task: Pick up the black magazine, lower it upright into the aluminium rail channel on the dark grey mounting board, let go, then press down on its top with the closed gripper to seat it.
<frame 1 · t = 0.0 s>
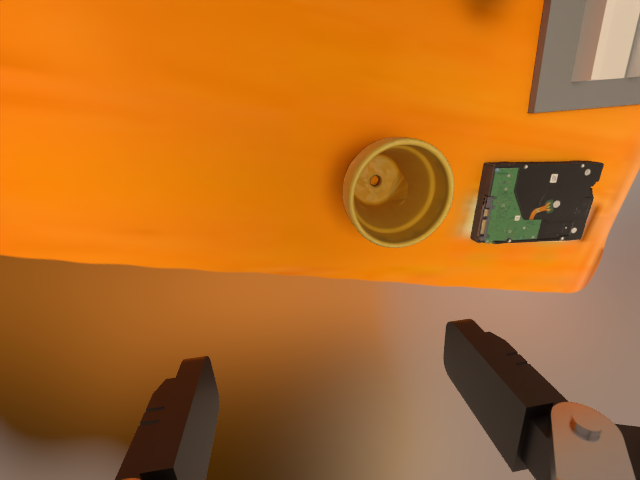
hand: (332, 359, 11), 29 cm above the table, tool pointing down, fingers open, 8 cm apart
plant pot: (372, 178, 39), on the table
disk drive: (524, 199, 43), on the table
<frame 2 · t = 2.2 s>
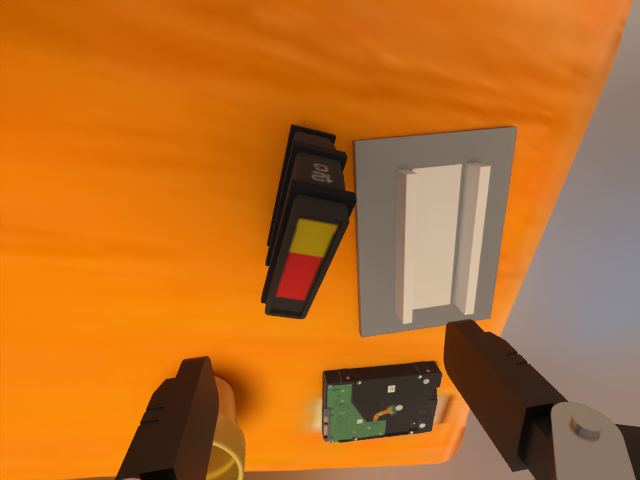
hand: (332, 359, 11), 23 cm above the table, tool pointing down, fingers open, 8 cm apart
plant pot: (207, 394, 39), on the table
disk drive: (375, 392, 43), on the table
rail board: (428, 238, 35), on the table
magazine: (294, 198, 32), on the table
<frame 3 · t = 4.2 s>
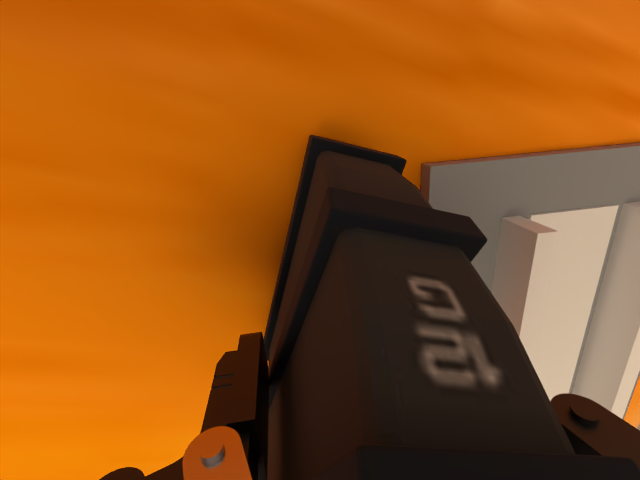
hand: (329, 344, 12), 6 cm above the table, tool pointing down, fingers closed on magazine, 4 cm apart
rail board: (533, 324, 21), on the table
magazine: (311, 265, 18), on the table, touching gripper
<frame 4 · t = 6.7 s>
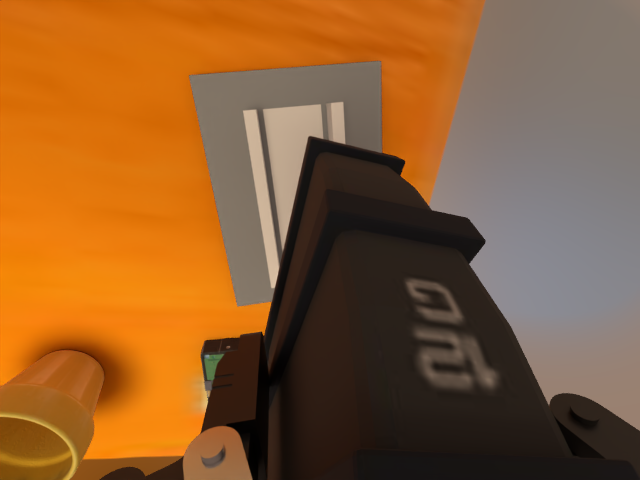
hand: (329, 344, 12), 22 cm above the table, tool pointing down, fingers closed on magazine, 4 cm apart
plant pot: (74, 371, 36), on the table
disk drive: (271, 365, 40), on the table
rail board: (300, 194, 32), on the table
magazine: (310, 266, 18), point 15 cm above the table, touching gripper
when the fingers open (9 cm above the table, at t = 9.6 s): magazine stays where it is, resting on rail board.
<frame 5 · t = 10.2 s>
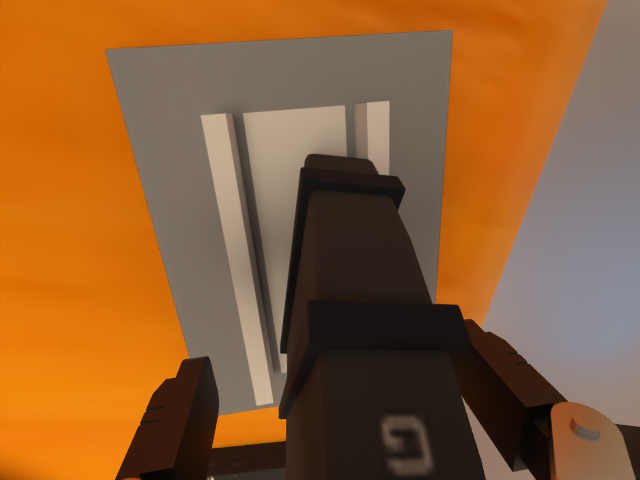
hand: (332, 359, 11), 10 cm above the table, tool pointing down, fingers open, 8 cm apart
disk drive: (261, 478, 27), on the table
rail board: (306, 250, 20), on the table
magazine: (319, 265, 18), point 2 cm above the table, touching rail board
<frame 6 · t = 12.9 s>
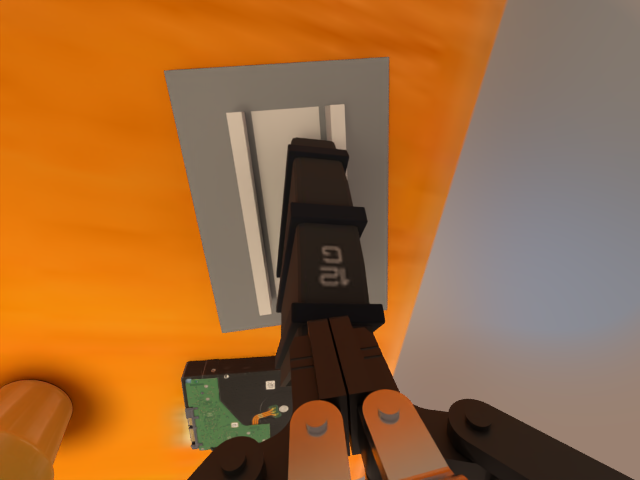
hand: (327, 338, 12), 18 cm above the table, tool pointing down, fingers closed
plant pot: (38, 403, 32), on the table
disk drive: (262, 389, 36), on the table
rail board: (294, 208, 28), on the table
magazine: (303, 216, 26), point 2 cm above the table, touching gripper, rail board
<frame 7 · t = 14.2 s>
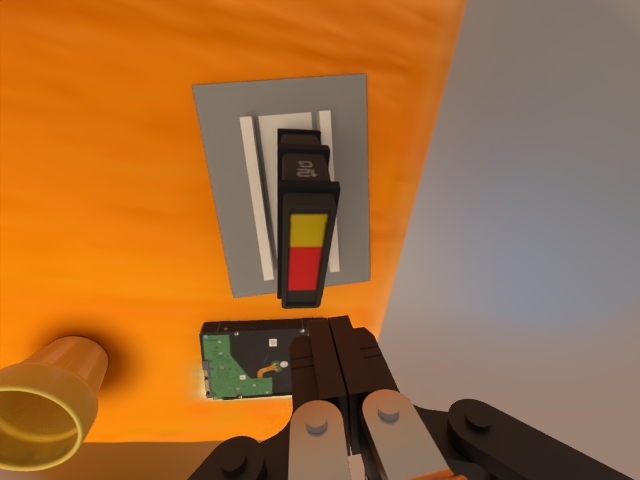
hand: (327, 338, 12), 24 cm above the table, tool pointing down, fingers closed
plant pot: (80, 357, 38), on the table
disk drive: (266, 350, 42), on the table
rail board: (292, 194, 35), on the table
magazine: (295, 196, 34), point 1 cm above the table, touching rail board
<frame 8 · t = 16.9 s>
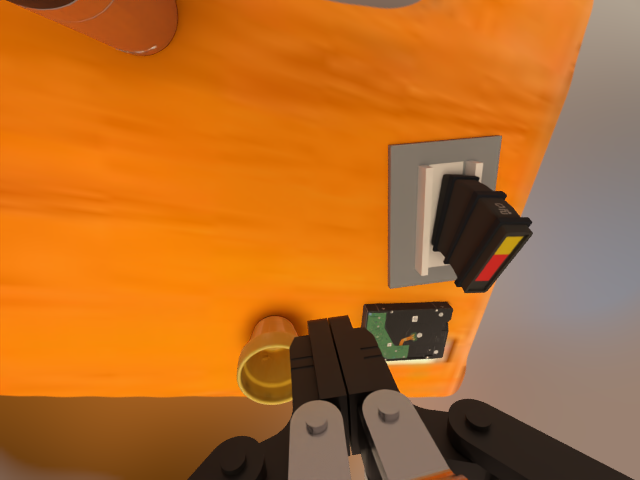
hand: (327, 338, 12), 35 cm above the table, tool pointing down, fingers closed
plant pot: (275, 331, 53), on the table
disk drive: (400, 325, 57), on the table
rail board: (439, 215, 49), on the table
magazine: (443, 217, 48), point 1 cm above the table, touching rail board
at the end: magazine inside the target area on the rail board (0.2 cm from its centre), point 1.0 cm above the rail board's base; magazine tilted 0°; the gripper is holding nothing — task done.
